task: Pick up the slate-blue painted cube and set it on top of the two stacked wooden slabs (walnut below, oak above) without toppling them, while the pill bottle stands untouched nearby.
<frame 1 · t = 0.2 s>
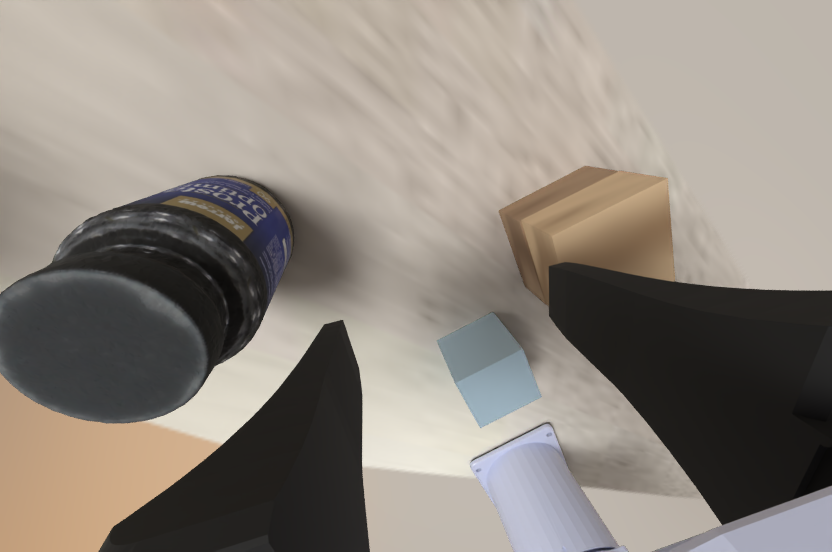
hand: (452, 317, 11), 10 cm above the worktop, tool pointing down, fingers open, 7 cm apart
pill bottle: (237, 231, 18), on the worktop
slab upper: (580, 241, 19), point 3 cm above the worktop, touching slab lower
cube: (475, 347, 25), on the worktop
slab lower: (550, 228, 22), on the worktop, touching slab upper
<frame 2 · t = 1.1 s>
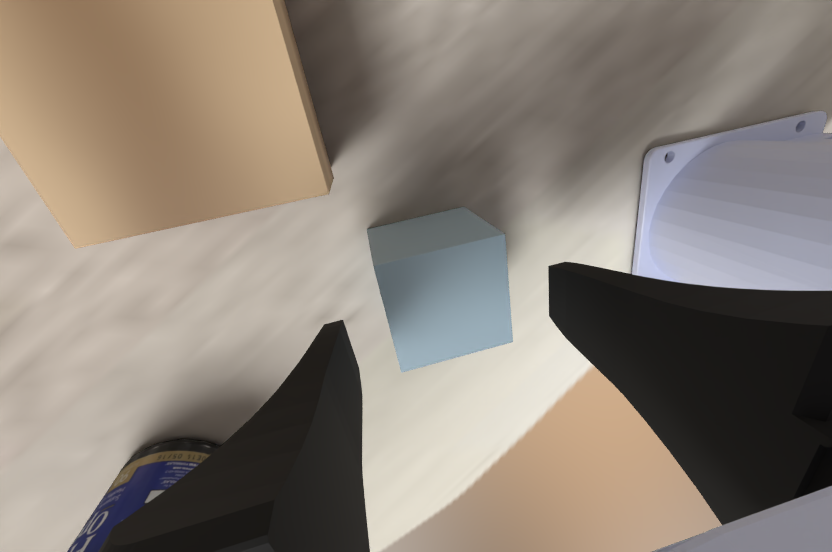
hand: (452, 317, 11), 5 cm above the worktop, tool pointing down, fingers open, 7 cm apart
pill bottle: (191, 472, 18), on the worktop
slab upper: (199, 93, 9), point 3 cm above the worktop, touching slab lower
cube: (424, 262, 16), on the worktop
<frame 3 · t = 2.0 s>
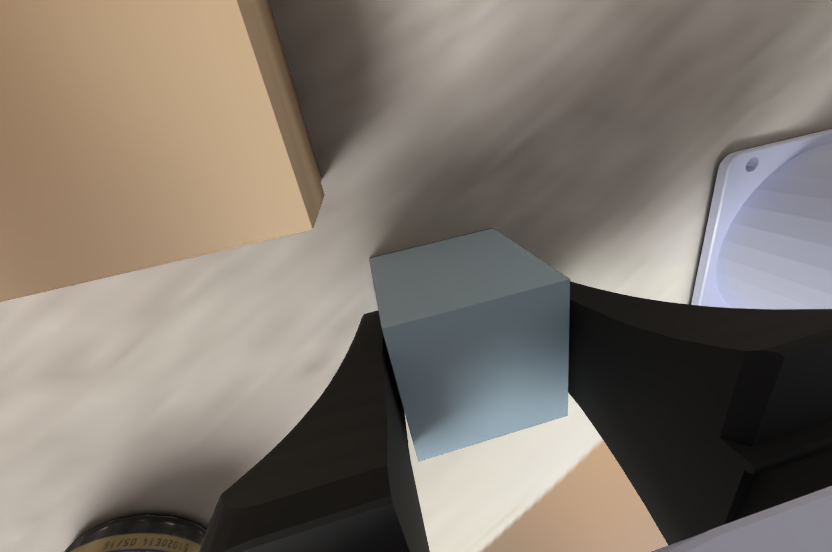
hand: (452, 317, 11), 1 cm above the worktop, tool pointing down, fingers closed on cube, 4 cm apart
pill bottle: (154, 548, 15), on the worktop
slab upper: (115, 70, 6), point 3 cm above the worktop, touching slab lower
cube: (441, 298, 13), on the worktop, touching gripper
slab lower: (175, 87, 9), on the worktop, touching slab upper
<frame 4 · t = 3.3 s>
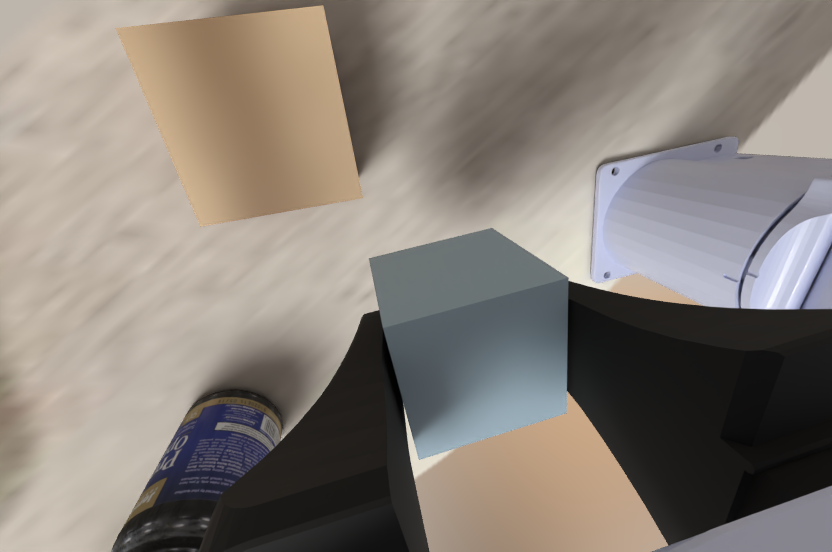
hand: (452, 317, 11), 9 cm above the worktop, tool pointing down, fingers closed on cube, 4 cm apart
pill bottle: (238, 419, 23), on the worktop
slab upper: (274, 126, 14), point 3 cm above the worktop, touching slab lower
cube: (441, 297, 13), point 8 cm above the worktop, touching gripper
when the fingers open (9 cm above the worktop, at t = 4.6 s): cube drops 1 cm, resting on slab upper.
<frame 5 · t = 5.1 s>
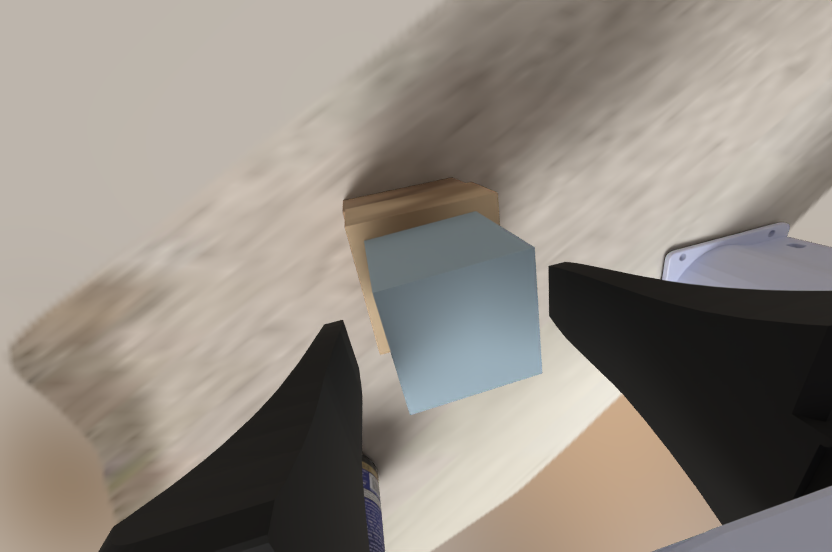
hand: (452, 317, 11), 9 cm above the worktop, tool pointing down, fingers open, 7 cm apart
pill bottle: (337, 473, 26), on the worktop
slab upper: (420, 255, 17), point 3 cm above the worktop, touching cube, slab lower
cube: (431, 277, 14), point 6 cm above the worktop, touching slab upper
slab lower: (407, 239, 19), on the worktop, touching slab upper
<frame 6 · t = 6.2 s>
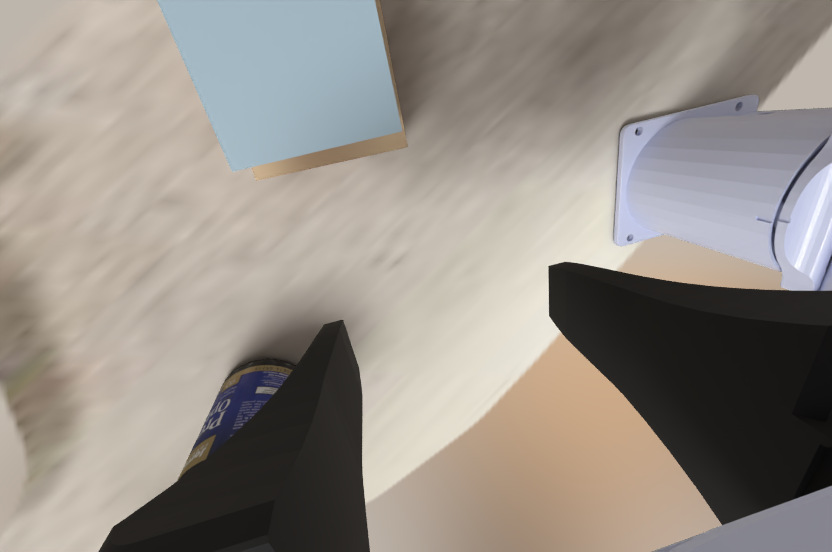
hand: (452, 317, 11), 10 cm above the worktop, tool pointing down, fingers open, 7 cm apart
pill bottle: (271, 390, 23), on the worktop
slab upper: (315, 86, 14), point 3 cm above the worktop, touching cube
cube: (307, 77, 12), point 6 cm above the worktop, touching slab upper
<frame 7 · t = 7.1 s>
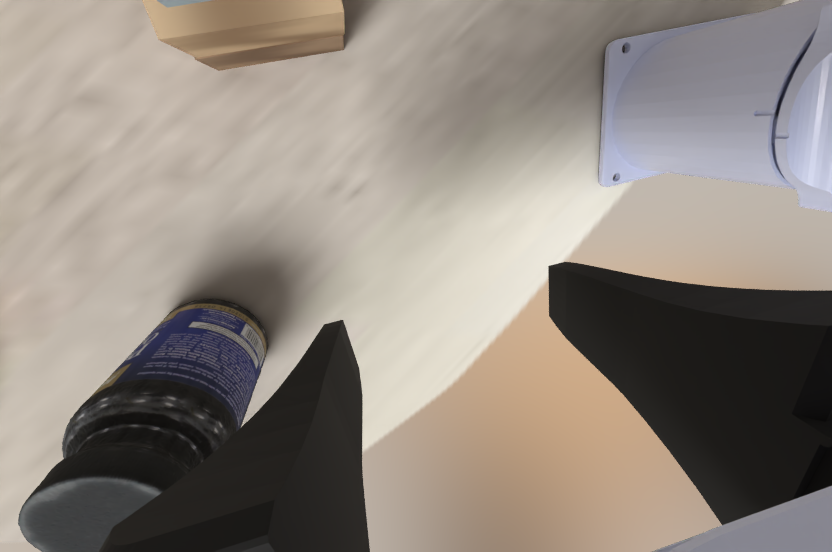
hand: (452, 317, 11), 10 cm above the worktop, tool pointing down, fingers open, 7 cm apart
pill bottle: (219, 337, 21), on the worktop
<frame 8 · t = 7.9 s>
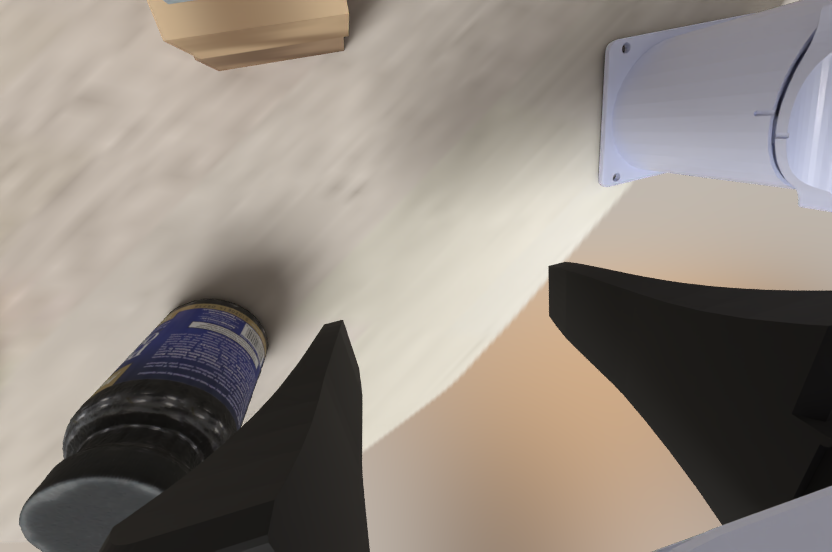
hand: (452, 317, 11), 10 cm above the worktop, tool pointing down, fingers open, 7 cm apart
pill bottle: (219, 337, 21), on the worktop
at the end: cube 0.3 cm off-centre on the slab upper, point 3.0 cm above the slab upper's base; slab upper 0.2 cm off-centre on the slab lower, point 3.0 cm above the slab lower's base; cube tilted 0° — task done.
